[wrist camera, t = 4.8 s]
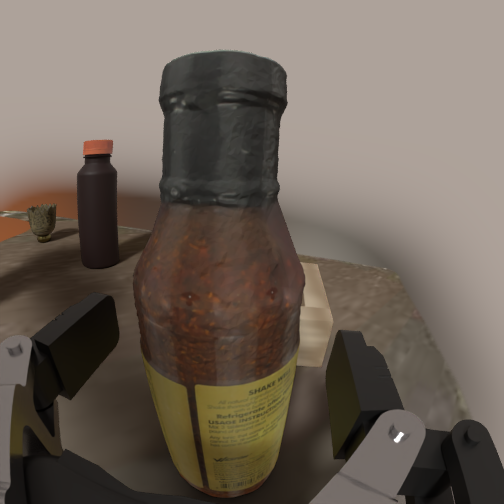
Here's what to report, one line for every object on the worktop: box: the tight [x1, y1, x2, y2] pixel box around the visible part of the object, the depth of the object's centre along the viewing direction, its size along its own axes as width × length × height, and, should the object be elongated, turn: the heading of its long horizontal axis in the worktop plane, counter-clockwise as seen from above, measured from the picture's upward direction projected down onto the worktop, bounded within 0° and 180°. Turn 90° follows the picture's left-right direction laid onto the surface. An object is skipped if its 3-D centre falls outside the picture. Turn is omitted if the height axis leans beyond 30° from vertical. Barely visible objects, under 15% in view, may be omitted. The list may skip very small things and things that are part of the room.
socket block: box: [296, 262, 333, 367], centre depth 30 cm, size 14×14×5 cm
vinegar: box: [77, 140, 119, 269], centre depth 39 cm, size 7×7×20 cm
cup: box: [27, 204, 56, 242], centre depth 49 cm, size 8×7×8 cm
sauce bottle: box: [133, 50, 306, 498], centre depth 11 cm, size 6×6×20 cm
